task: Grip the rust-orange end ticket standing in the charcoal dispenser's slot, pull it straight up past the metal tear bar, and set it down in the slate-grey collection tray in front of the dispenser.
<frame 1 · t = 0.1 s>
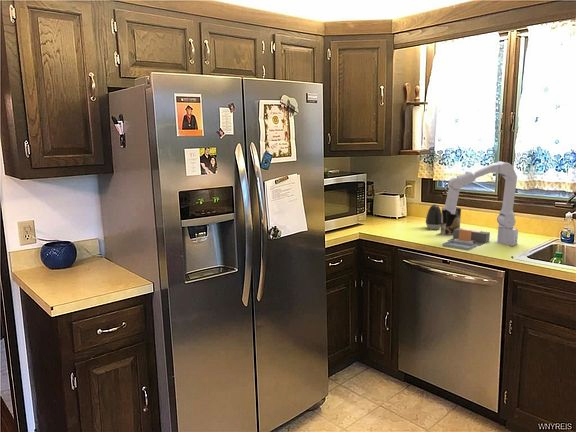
hand: (446, 224, 250), 10 cm above the worktop, tool pointing down, fingers open, 7 cm apart
collection tray: (459, 247, 244), on the worktop
dark grey egg shape: (433, 228, 289), on the worktop
end ticket: (464, 242, 251), point 1 cm above the worktop, touching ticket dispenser
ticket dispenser: (468, 241, 254), on the worktop
coffee box: (450, 235, 272), on the worktop
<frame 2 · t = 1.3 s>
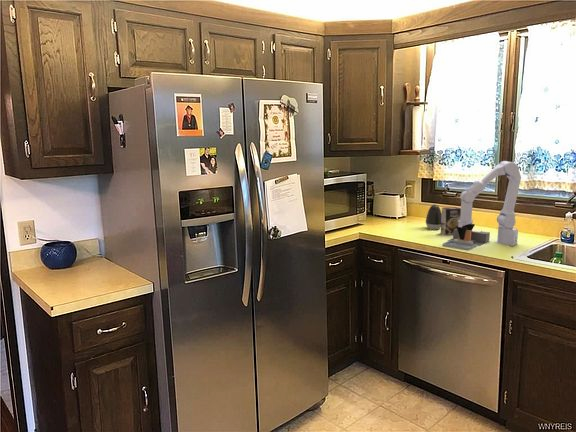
hand: (464, 238, 250), 3 cm above the worktop, tool pointing down, fingers open, 7 cm apart
nothing on the worktop moved.
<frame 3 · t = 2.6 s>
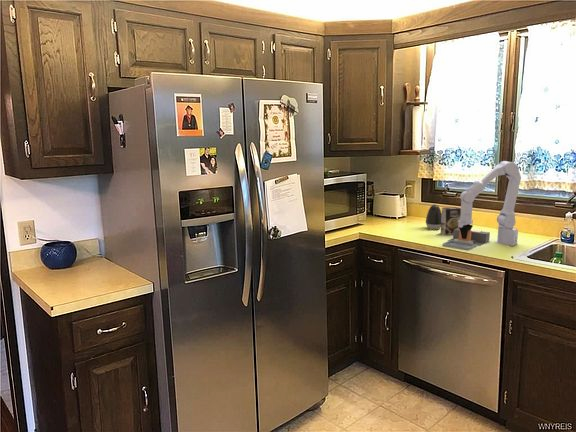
hand: (464, 238, 250), 3 cm above the worktop, tool pointing down, fingers closed on end ticket, 2 cm apart
end ticket: (464, 242, 251), point 1 cm above the worktop, touching gripper, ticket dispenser
everything else where it was.
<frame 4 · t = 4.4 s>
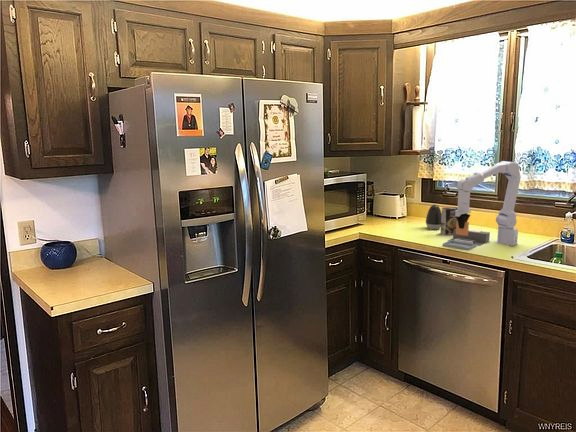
hand: (462, 228, 245), 10 cm above the worktop, tool pointing down, fingers closed on end ticket
end ticket: (461, 234, 245), point 6 cm above the worktop, touching gripper
everything else where it was.
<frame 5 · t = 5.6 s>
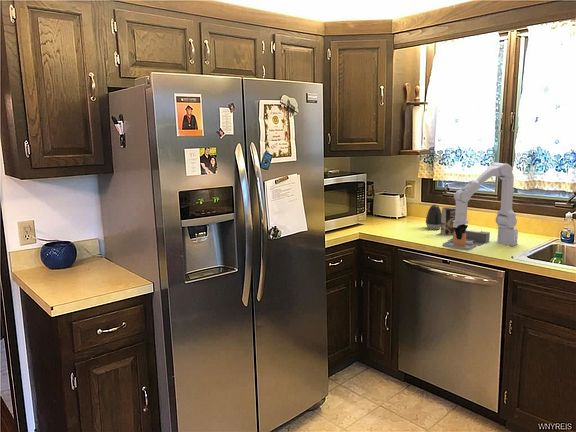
hand: (459, 238, 243), 5 cm above the worktop, tool pointing down, fingers closed on end ticket, 2 cm apart
end ticket: (459, 246, 243), point 1 cm above the worktop, touching collection tray, gripper
everything else where it was.
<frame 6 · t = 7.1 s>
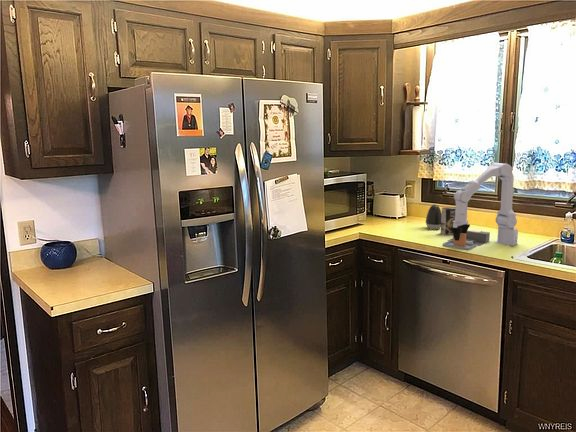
hand: (459, 238, 243), 5 cm above the worktop, tool pointing down, fingers open, 7 cm apart
end ticket: (459, 246, 243), point 1 cm above the worktop, touching collection tray
everything else where it was.
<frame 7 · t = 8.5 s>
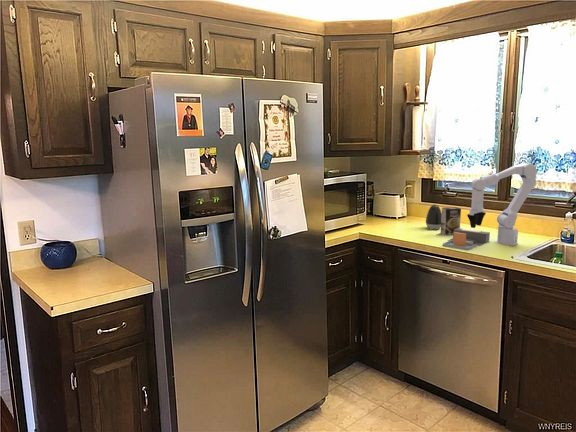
hand: (475, 226, 249), 9 cm above the worktop, tool pointing down, fingers open, 7 cm apart
nothing on the worktop moved.
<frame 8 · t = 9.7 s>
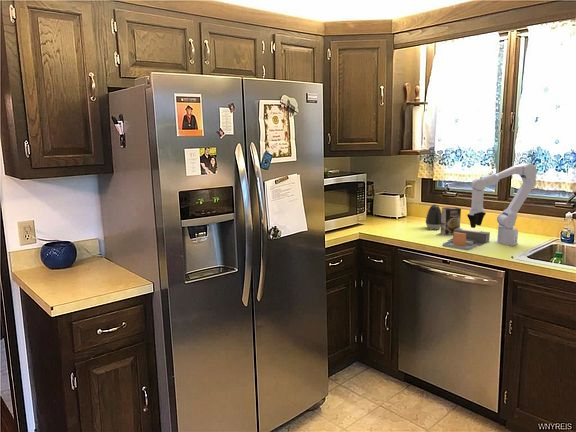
hand: (475, 226, 249), 9 cm above the worktop, tool pointing down, fingers open, 7 cm apart
nothing on the worktop moved.
at the end: end ticket inside the target area on the collection tray (0.1 cm from its centre), point 0.6 cm above the collection tray's base; the gripper is holding nothing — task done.
